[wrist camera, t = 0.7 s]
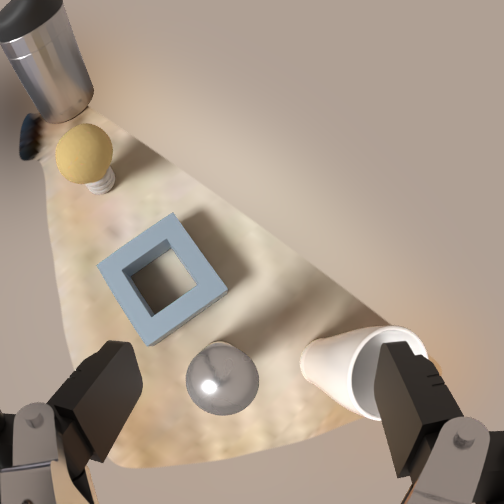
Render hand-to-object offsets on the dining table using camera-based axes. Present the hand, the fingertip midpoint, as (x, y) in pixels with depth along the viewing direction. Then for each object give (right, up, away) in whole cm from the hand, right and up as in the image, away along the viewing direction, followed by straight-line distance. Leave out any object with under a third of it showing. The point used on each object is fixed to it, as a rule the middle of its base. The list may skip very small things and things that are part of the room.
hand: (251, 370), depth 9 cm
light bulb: (-18, +12, +26) cm, 34 cm away
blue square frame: (-9, 0, +24) cm, 25 cm away
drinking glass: (+8, -8, +23) cm, 26 cm away
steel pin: (-3, -8, +22) cm, 24 cm away
